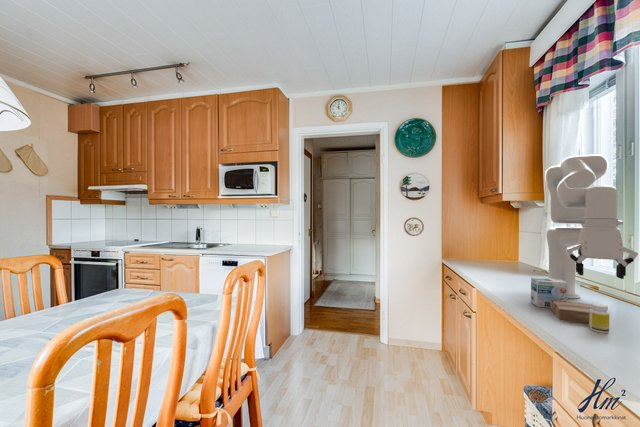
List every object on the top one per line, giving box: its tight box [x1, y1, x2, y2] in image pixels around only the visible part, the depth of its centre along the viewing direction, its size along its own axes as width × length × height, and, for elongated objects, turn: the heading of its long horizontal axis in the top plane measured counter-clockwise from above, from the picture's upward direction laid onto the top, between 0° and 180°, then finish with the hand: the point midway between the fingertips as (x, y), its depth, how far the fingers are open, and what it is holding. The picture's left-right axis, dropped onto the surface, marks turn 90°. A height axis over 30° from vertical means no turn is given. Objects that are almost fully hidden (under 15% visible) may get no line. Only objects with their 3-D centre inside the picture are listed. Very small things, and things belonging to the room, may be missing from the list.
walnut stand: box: [551, 300, 592, 325], centre depth 105 cm, size 12×12×4 cm
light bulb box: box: [530, 276, 569, 309], centre depth 119 cm, size 11×7×11 cm, turn 74°
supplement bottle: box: [588, 302, 610, 334], centre depth 94 cm, size 5×5×8 cm
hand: (599, 276), depth 94 cm, fingers open, 9 cm apart
